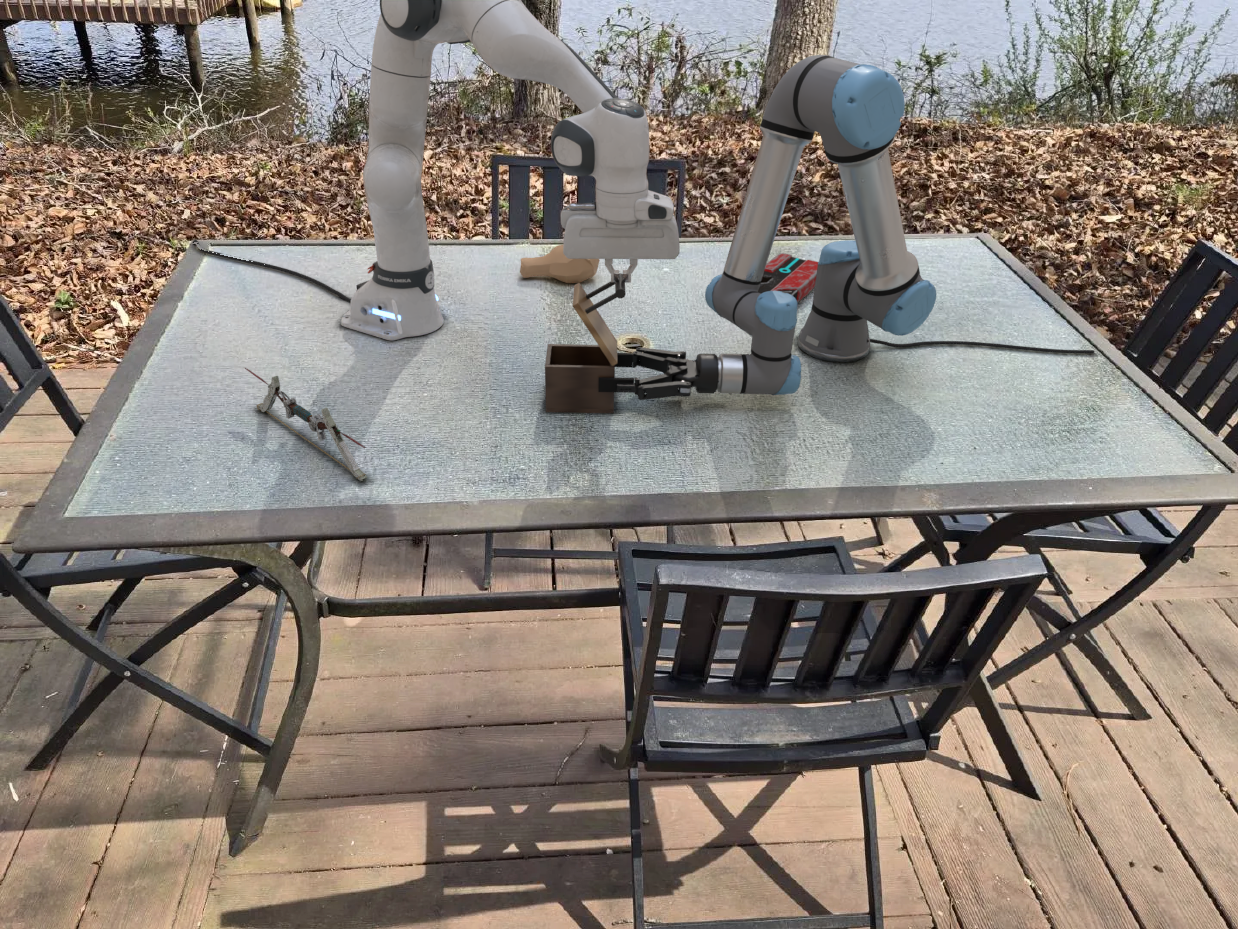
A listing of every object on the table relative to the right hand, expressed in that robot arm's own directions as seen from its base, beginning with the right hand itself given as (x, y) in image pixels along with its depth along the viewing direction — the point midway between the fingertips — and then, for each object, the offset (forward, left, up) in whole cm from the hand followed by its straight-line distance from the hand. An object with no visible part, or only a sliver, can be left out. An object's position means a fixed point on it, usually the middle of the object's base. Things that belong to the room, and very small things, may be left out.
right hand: (598, 371), depth 165 cm
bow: (+53, -6, -6) cm, 54 cm away
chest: (+3, -1, -6) cm, 7 cm away
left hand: (-3, +2, +18) cm, 18 cm away
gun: (-62, -33, -6) cm, 70 cm away
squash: (-17, -60, -6) cm, 63 cm away
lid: (+1, 0, +9) cm, 10 cm away
